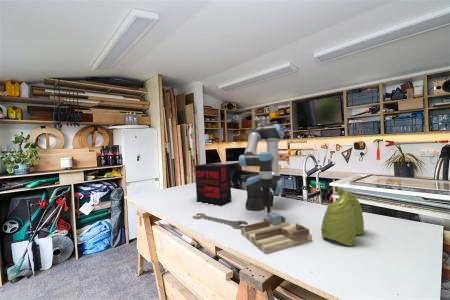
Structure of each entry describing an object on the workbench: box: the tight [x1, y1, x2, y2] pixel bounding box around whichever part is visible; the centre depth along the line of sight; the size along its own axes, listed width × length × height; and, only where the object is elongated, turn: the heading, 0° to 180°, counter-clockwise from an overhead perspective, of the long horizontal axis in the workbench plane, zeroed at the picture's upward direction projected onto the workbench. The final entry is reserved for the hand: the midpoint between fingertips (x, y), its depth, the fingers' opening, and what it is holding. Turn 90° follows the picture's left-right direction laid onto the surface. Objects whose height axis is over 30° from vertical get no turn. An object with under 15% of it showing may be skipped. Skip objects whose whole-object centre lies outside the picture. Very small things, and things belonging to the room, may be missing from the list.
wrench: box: [192, 212, 249, 230], centre depth 139 cm, size 42×10×2 cm, turn 53°
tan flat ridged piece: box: [240, 215, 313, 254], centre depth 112 cm, size 24×27×6 cm
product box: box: [194, 163, 232, 207], centre depth 184 cm, size 26×14×32 cm, turn 54°
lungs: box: [320, 187, 365, 247], centre depth 109 cm, size 25×16×24 cm, turn 132°
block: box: [268, 212, 282, 226], centre depth 122 cm, size 5×5×5 cm
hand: (268, 217), depth 129 cm, fingers closed
